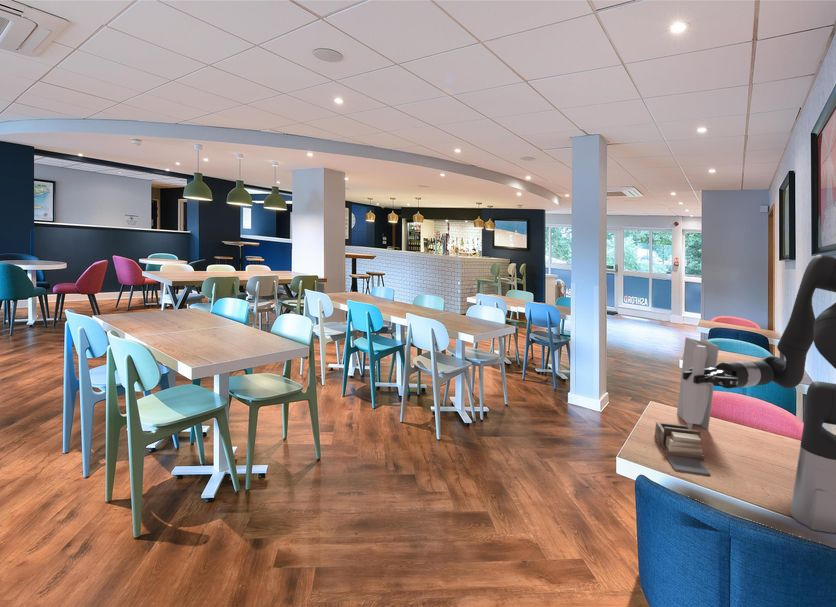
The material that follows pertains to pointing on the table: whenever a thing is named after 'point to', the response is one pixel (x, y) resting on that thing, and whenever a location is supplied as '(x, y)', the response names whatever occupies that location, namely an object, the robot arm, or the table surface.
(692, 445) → the offcut rack
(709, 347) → the brochure
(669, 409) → the table surface
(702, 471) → the mat
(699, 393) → the low poly bottle
